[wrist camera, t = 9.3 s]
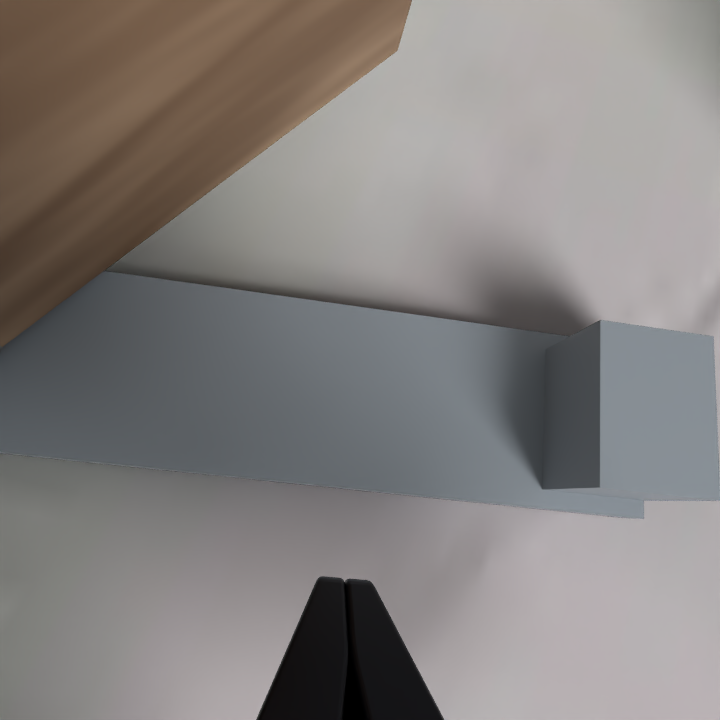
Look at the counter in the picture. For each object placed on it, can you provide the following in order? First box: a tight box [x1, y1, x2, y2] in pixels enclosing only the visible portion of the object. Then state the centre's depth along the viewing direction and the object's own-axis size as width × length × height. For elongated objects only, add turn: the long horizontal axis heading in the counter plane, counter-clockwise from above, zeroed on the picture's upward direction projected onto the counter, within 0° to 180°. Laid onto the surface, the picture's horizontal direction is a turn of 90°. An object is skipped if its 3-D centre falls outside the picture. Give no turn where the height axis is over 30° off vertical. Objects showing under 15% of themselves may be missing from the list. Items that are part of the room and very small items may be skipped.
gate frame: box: [0, 271, 720, 519], centre depth 15 cm, size 5×23×4 cm, turn 84°
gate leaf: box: [0, 0, 412, 353], centre depth 12 cm, size 2×15×9 cm, turn 134°
